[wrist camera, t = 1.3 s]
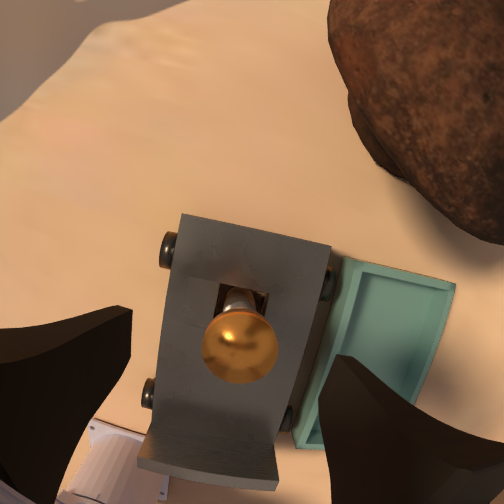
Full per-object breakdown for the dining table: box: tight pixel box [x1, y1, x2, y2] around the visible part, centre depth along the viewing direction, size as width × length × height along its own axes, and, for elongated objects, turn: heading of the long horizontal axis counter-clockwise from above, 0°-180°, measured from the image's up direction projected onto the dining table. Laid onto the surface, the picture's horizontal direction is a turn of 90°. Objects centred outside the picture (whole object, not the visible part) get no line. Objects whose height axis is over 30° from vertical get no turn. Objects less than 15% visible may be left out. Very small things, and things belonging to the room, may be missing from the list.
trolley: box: [137, 213, 336, 491], centre depth 18 cm, size 16×11×7 cm
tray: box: [291, 256, 456, 450], centre depth 21 cm, size 15×9×2 cm, turn 168°
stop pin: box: [202, 287, 278, 384], centre depth 17 cm, size 3×3×9 cm
